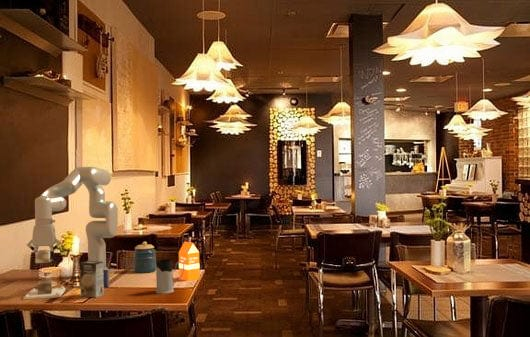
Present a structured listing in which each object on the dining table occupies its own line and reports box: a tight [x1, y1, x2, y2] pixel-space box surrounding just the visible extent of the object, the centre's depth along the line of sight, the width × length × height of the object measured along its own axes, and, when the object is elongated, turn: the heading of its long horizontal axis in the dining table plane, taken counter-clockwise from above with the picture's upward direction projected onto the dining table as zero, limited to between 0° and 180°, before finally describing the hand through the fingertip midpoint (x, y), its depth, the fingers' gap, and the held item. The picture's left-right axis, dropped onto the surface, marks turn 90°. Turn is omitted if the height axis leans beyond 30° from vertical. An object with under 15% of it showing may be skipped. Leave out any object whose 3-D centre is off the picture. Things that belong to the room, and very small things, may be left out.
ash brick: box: [34, 249, 52, 264], centre depth 257 cm, size 6×8×5 cm
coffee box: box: [79, 260, 105, 298], centre depth 253 cm, size 9×6×16 cm
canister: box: [133, 241, 157, 274], centre depth 314 cm, size 13×13×18 cm
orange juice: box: [178, 241, 201, 282], centre depth 288 cm, size 8×9×20 cm
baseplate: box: [22, 286, 66, 300], centre depth 258 cm, size 16×16×2 cm
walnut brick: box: [37, 279, 53, 295], centre depth 258 cm, size 6×8×5 cm
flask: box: [103, 268, 111, 288], centre depth 274 cm, size 9×3×11 cm, turn 68°
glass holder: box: [155, 258, 184, 295], centre depth 260 cm, size 9×14×15 cm, turn 113°
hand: (44, 259), depth 258 cm, fingers closed on ash brick, 6 cm apart
